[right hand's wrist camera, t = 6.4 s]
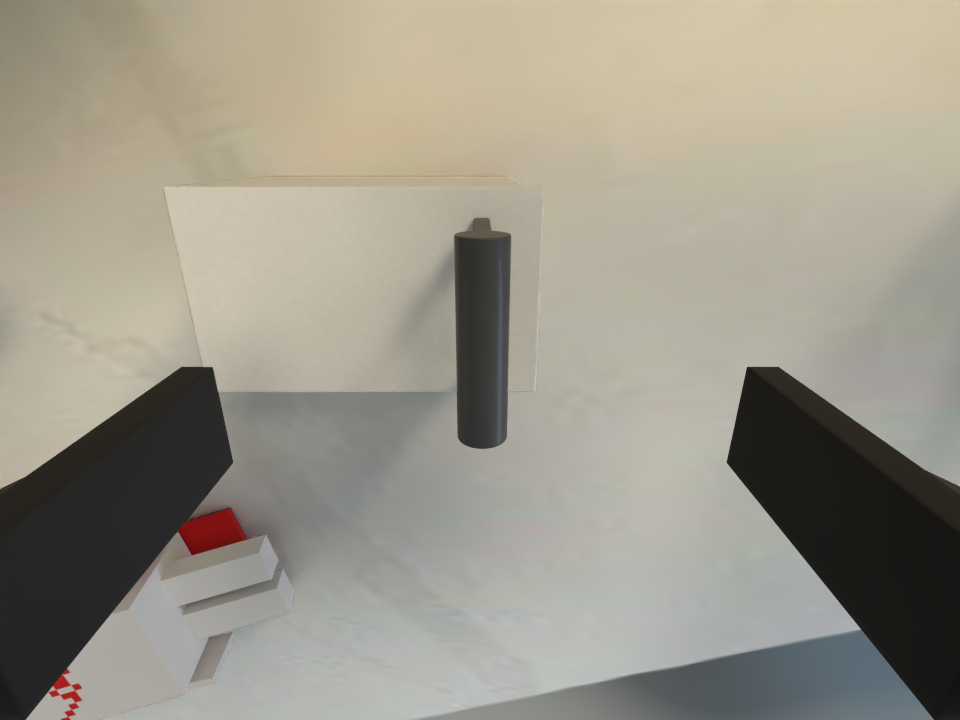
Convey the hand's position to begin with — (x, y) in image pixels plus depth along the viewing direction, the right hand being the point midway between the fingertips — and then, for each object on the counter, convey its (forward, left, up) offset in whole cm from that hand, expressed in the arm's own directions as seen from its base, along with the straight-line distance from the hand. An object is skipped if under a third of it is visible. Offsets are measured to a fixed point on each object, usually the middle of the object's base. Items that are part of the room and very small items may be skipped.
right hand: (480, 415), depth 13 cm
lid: (+3, -4, -13) cm, 14 cm away
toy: (+41, -8, -24) cm, 48 cm away
